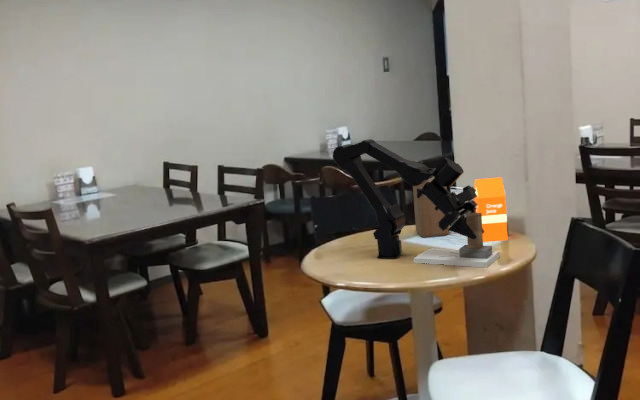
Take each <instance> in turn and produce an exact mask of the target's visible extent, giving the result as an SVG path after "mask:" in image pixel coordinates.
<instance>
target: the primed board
mask: <svg viewBox="0 0 640 400" xmlns="http://www.w3.org/2000/svg"><path fill="white" fill-rule="evenodd" d="M499 258H500V251H496V250H495V251H493V250H492V255H491V256H490V257H488V258H487V259H480V258H464V257H460V253H459V249H456V248H455V249H453V248H452V249H451V248H450V249H449V248H447V249H446V248H433V247H431V248H428V249H426V250H424V251H423V252H421V253H420V254H418V255H417V256H415V257H414V258H413V263H414V264H421V263H425V264H424V265H437V264H444V265H443V266H454V265H455V266H456V267H457V266H459V267H473V268H488V267H490V265H492V264H493V263H494V262H495V261H496V260H498V259H499ZM426 263H427V264H426ZM428 263H429V264H428Z"/></svg>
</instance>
